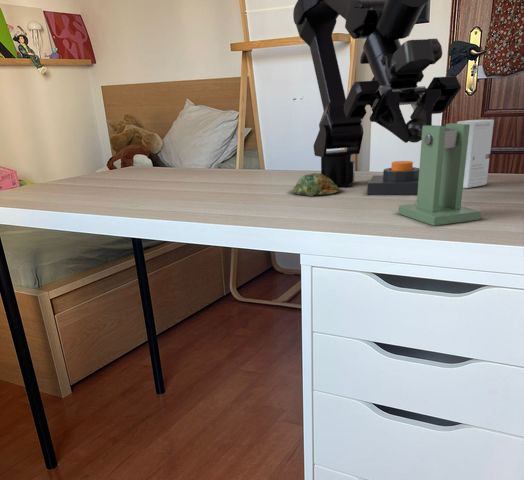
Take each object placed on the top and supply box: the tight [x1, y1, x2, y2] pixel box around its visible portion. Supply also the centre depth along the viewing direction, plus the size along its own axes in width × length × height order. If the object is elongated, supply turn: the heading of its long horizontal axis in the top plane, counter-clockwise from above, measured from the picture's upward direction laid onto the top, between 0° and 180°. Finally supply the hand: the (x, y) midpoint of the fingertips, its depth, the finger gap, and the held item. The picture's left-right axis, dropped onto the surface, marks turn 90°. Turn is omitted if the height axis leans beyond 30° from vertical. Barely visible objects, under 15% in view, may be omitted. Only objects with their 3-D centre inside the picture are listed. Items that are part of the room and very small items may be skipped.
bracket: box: [398, 122, 482, 227], centre depth 80 cm, size 10×8×13 cm
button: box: [390, 160, 414, 171], centre depth 103 cm, size 4×4×2 cm
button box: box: [366, 166, 419, 196], centre depth 104 cm, size 12×10×4 cm
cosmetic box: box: [456, 119, 495, 189], centre depth 103 cm, size 6×4×12 cm
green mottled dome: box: [291, 173, 340, 197], centre depth 107 cm, size 10×4×10 cm
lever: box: [405, 118, 458, 149], centre depth 81 cm, size 11×4×4 cm, turn 18°
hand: (418, 139), depth 84 cm, fingers closed on lever, 3 cm apart
